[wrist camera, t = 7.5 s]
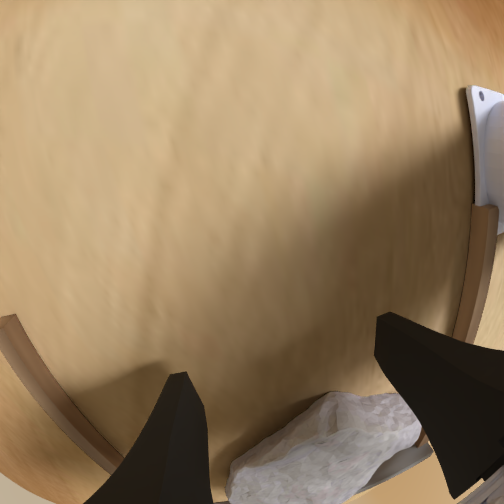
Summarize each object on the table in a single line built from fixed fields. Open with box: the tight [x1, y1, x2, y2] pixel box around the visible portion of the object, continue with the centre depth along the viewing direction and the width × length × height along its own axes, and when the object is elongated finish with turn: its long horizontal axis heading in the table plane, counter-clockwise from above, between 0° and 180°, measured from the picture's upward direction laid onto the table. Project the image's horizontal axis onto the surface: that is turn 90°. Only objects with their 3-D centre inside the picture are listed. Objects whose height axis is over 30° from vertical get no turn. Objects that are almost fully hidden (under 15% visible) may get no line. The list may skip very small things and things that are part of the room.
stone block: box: [225, 391, 422, 504], centre depth 14 cm, size 12×5×10 cm
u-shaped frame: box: [0, 203, 499, 504], centre depth 13 cm, size 24×23×2 cm
